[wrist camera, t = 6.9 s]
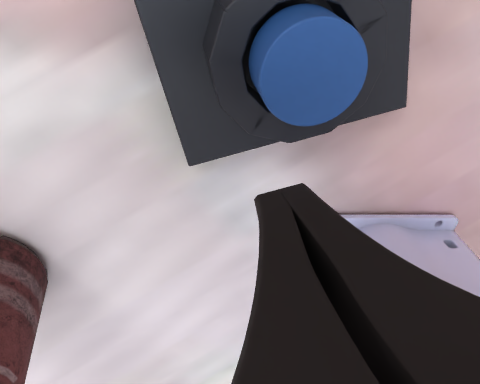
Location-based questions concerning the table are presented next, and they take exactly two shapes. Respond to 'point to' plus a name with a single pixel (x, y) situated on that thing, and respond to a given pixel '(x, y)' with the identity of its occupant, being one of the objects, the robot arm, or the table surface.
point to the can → (18, 307)
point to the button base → (238, 76)
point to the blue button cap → (307, 64)
